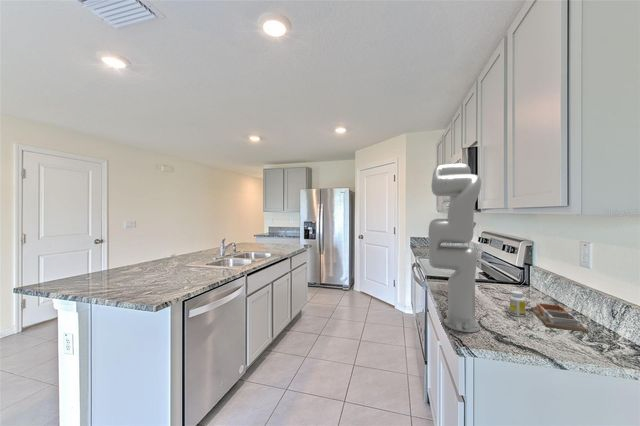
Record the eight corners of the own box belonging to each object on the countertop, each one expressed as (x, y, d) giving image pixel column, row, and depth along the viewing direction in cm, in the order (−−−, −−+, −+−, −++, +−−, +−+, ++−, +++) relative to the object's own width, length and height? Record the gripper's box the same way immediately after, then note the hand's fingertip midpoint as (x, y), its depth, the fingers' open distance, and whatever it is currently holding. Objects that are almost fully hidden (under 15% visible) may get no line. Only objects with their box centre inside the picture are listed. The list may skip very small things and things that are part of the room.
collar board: (586, 332, 101) (586, 322, 101) (546, 326, 106) (546, 317, 106) (565, 313, 118) (565, 305, 118) (531, 310, 123) (531, 302, 123)
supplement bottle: (524, 313, 119) (524, 291, 119) (525, 318, 115) (525, 294, 114) (509, 311, 122) (509, 289, 122) (509, 315, 118) (509, 292, 118)
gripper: (440, 206, 147) (440, 238, 147) (476, 206, 140) (477, 239, 140) (440, 206, 154) (440, 237, 154) (475, 206, 147) (475, 238, 147)
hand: (457, 238), depth 147 cm, fingers open, 9 cm apart
